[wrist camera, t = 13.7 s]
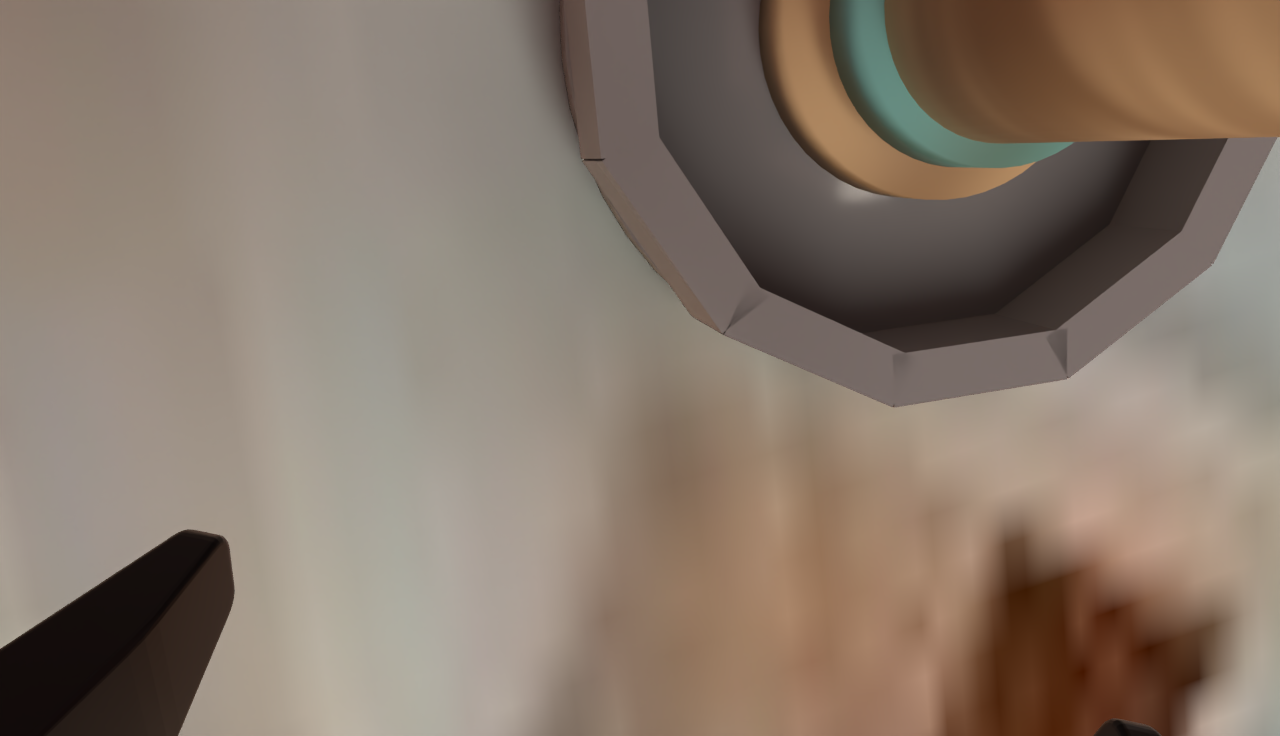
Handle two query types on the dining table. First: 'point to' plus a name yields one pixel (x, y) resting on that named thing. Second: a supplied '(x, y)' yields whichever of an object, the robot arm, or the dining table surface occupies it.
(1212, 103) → the disc
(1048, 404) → the dining table surface
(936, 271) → the round tray
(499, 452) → the dining table surface
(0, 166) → the dining table surface
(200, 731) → the dining table surface
